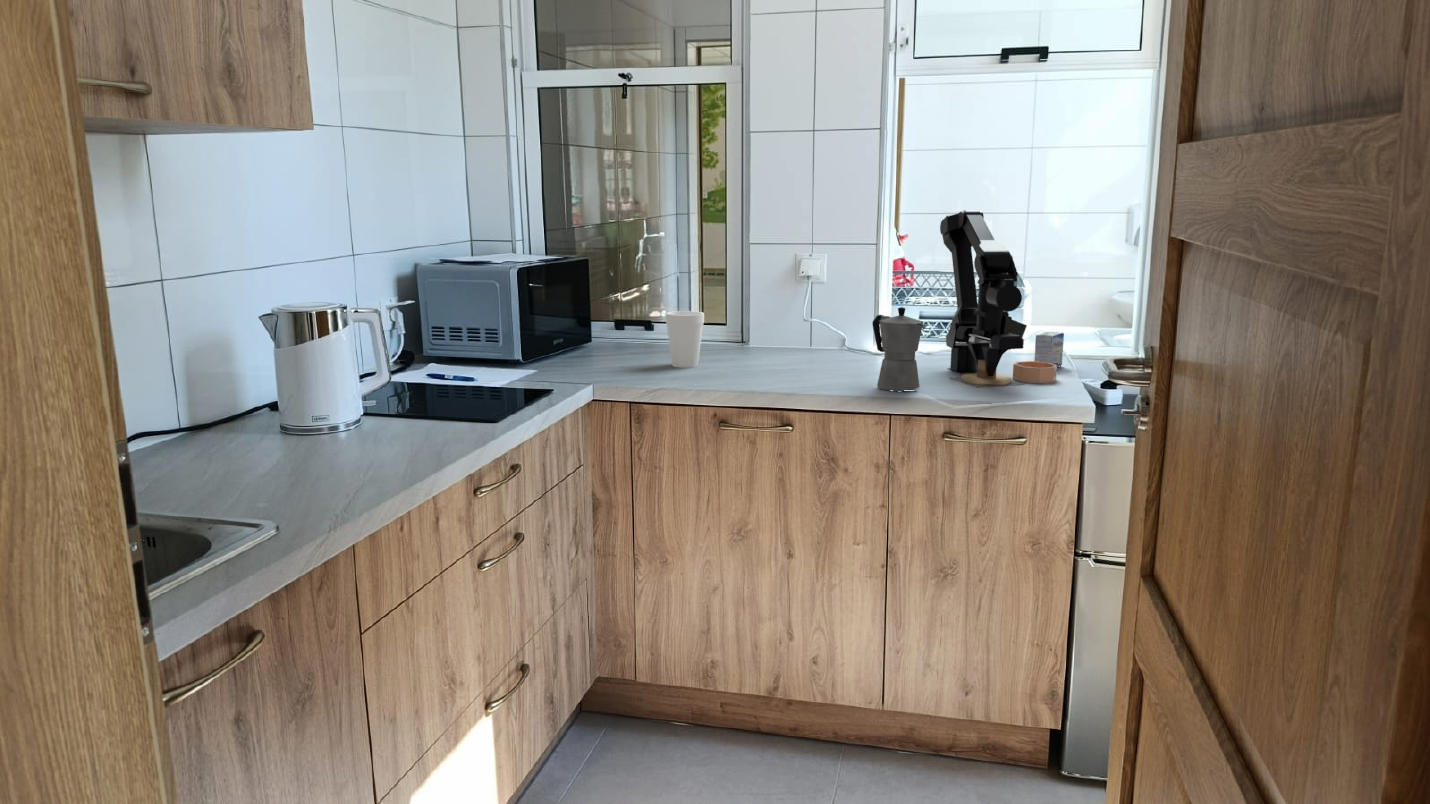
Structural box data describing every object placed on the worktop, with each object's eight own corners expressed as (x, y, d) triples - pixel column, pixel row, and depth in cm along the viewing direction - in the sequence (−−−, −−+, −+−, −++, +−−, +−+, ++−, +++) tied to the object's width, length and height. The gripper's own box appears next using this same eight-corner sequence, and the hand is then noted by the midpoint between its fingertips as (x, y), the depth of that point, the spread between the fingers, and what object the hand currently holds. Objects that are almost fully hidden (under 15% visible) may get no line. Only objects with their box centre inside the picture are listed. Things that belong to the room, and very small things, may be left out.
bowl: (1028, 386, 228) (1030, 369, 227) (1005, 379, 236) (1006, 362, 236) (1063, 384, 231) (1064, 367, 230) (1039, 377, 239) (1040, 360, 238)
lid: (978, 386, 224) (979, 365, 223) (952, 378, 234) (953, 357, 233) (1021, 384, 227) (1022, 363, 226) (993, 375, 238) (994, 355, 237)
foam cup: (706, 362, 256) (706, 311, 254) (702, 369, 247) (702, 315, 245) (668, 361, 257) (668, 310, 255) (663, 368, 248) (662, 315, 246)
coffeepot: (935, 391, 222) (939, 309, 219) (903, 395, 217) (907, 311, 214) (886, 379, 235) (889, 302, 231) (855, 383, 230) (858, 304, 226)
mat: (977, 390, 223) (977, 387, 223) (949, 380, 235) (949, 377, 235) (1024, 387, 227) (1024, 384, 227) (994, 377, 238) (994, 375, 238)
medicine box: (1051, 371, 247) (1053, 336, 246) (1033, 369, 250) (1035, 334, 248) (1062, 367, 254) (1064, 332, 252) (1044, 365, 256) (1046, 330, 254)
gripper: (1047, 309, 221) (1041, 380, 224) (998, 300, 238) (994, 366, 242) (1002, 311, 218) (998, 383, 221) (956, 302, 235) (953, 368, 238)
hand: (986, 374), depth 230 cm, fingers closed on lid, 3 cm apart
